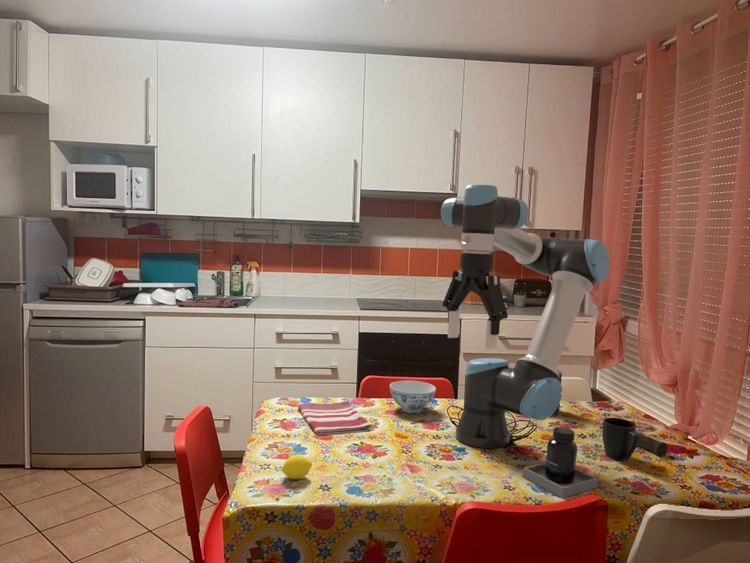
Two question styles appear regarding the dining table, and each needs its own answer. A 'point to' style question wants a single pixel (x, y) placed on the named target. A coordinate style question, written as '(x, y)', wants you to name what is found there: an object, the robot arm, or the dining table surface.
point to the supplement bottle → (561, 456)
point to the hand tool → (652, 445)
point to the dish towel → (333, 418)
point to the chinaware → (412, 395)
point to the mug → (619, 438)
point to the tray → (562, 490)
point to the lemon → (296, 467)
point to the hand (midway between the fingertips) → (471, 342)
